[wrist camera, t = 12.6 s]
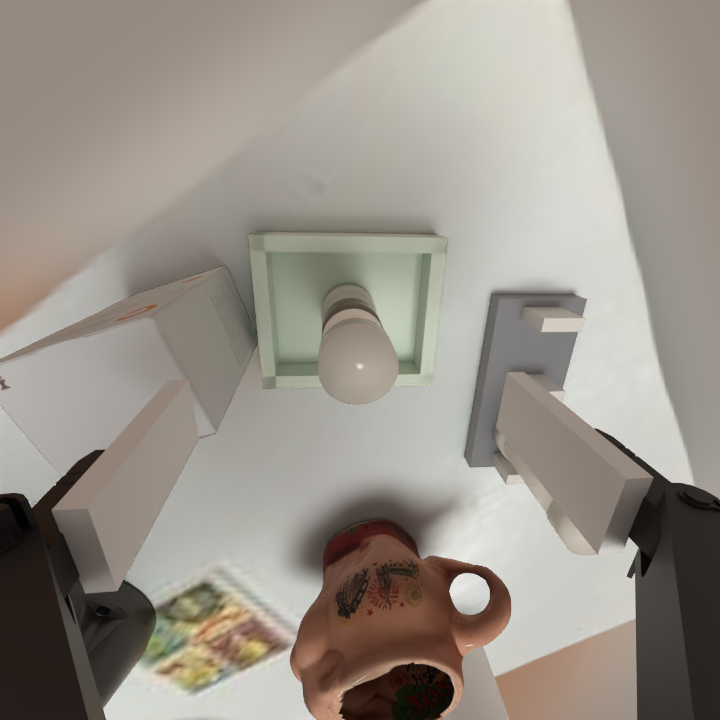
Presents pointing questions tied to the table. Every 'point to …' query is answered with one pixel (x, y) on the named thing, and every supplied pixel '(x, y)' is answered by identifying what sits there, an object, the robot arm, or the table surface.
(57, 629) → the robot arm
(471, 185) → the table surface
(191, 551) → the table surface
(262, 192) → the table surface
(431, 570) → the decorative planter
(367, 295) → the light bulb
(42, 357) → the small box
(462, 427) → the table surface
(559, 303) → the holder
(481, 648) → the mug
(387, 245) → the parts tray
